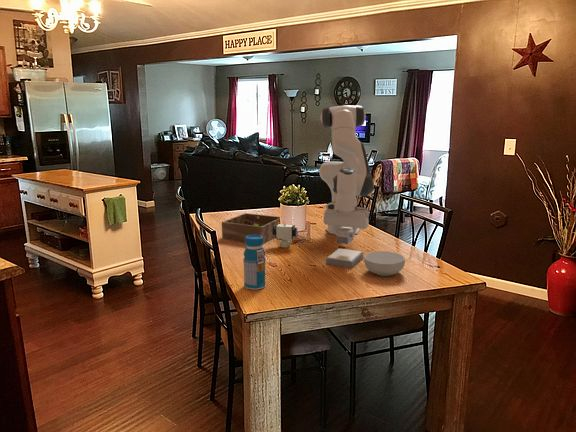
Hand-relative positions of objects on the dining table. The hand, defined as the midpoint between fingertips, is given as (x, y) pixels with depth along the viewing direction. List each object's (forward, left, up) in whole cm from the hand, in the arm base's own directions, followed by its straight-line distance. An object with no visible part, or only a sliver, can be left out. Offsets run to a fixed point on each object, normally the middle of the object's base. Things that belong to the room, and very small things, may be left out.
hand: (345, 236), depth 211 cm
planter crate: (-18, -58, -12) cm, 62 cm away
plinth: (0, 0, -12) cm, 12 cm away
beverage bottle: (+45, -21, -12) cm, 51 cm away
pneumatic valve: (-8, -34, -12) cm, 37 cm away
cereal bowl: (+8, +20, -12) cm, 25 cm away
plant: (-18, -58, -12) cm, 62 cm away
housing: (0, 0, -2) cm, 2 cm away
